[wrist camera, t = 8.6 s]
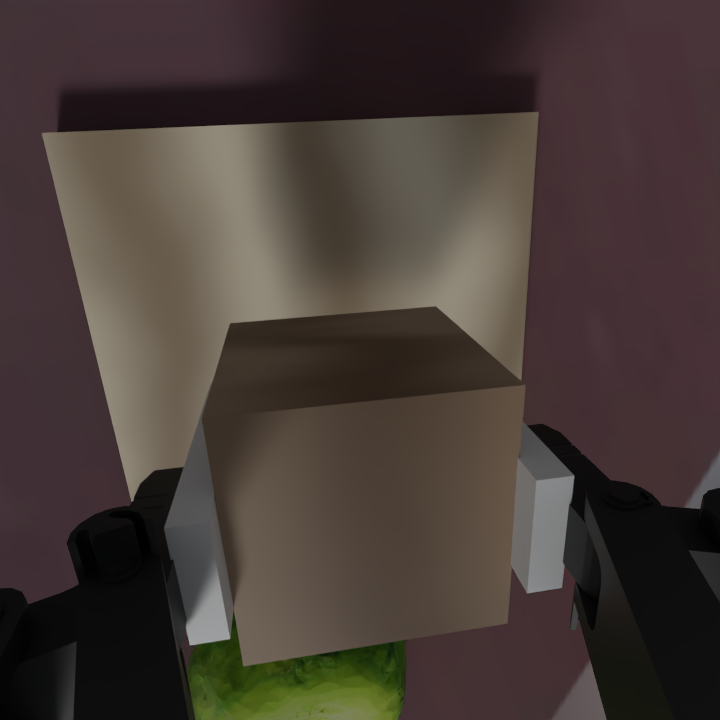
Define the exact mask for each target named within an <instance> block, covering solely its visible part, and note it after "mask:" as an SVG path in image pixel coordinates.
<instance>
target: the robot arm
mask: <svg viewBox="0 0 720 720" xmlns="http://www.w3.org/2000/svg"><path fill="white" fill-rule="evenodd" d="M211 385H212V383H211V384H210V387H209V390H208V393H207V397H206V400H205V403H204V406H203V409H202V412H201V415H200V418H199V421H198V425H197V428H196V431H195V434H194V437H193V440H192V443H191V446H190V449H189V452H188V456H187V459H186V462H185V465H184V467H179V468H170V469H161V470H154V471H153V472H152V473H151V474H150V475H149V476H148V477H147V478H146V479H145V480H143V481H142V482H141V483H140V485H139V487H138V489H137V492H136V494H135V496H134V501H132V503H131V505H130V506H123V507H117V508H112V509H108V510H105V511H103V512H100V513H98V514H95V515H93V516H91V517H90V518H88V519H87V520H85V521H83V522H82V523H80V524H79V525H78V526H77V527H76V528H75V529H74V530H73V531H72V532H71V534H70V536H69V539H68V541H67V545H68V549H69V552H70V555H71V558H72V562H73V565H74V568H75V571H76V575H77V578H78V581H79V585H77V586H75V587H73V588H71V589H69V590H66V591H64V592H62V593H59V594H57V595H54V596H51V597H48V598H45V599H42V600H40V601H37V602H34V603H31V604H28V603H27V600H26V598H25V597H24V595H23V593H22V592H21V591H18V590H15V589H13V588H2V589H0V720H196V719H195V714H194V708H193V703H192V697H191V692H190V687H189V681H188V676H187V670H186V665H185V660H184V656H183V652H182V647H181V645H182V640H183V636H184V631H185V626H186V630H187V634H188V639H189V643H190V645H196V644H202V643H209V642H215V641H222V640H228V639H230V637H231V627H232V618H233V608H234V606H233V601H232V595H231V589H230V584H229V578H228V572H227V566H226V560H225V554H224V548H223V543H222V537H221V531H220V525H219V519H218V513H217V507H216V501H215V495H214V489H213V483H212V477H211V472H210V466H209V460H208V454H207V448H206V442H205V436H204V430H203V424H202V415H203V412H204V409H205V405H206V402H207V399H208V395H209V392H210V389H211ZM564 565H565V566H566V568H567V569H568V570H569V572H570V573H571V575H572V576H573V577H574V579H575V588H574V596H573V604H572V612H571V620H570V629H571V630H576V628H577V620H578V619H579V620H580V624H581V628H582V631H583V635H584V639H585V642H586V646H587V650H588V653H589V657H590V660H591V664H592V667H593V671H594V675H595V679H596V682H597V685H598V690H599V693H600V697H601V700H602V704H603V708H604V711H605V715H606V718H607V720H720V488H717V489H713V490H709V491H708V492H707V493H706V494H704V495H703V499H702V504H701V508H700V509H692V508H679V507H667V506H661V504H660V502H659V501H658V500H657V499H656V498H655V497H654V496H653V495H652V494H651V493H649V492H648V491H646V490H644V489H643V488H641V487H638V486H635V485H633V484H630V483H626V482H620V481H611V480H610V479H609V478H608V477H607V476H605V475H604V474H603V473H602V472H601V471H600V470H599V469H598V468H597V467H596V466H595V465H594V464H593V463H592V462H591V461H590V460H589V459H588V458H587V457H585V456H584V455H583V454H582V455H581V452H580V451H579V450H578V449H577V448H576V447H575V446H574V445H573V446H572V443H571V442H570V441H569V440H568V439H567V438H565V437H564V436H563V435H562V434H561V433H560V432H558V431H556V430H554V429H552V428H550V427H548V426H546V425H544V424H536V425H528V426H527V425H526V424H525V423H524V422H523V425H522V438H521V451H520V458H518V462H517V477H516V492H515V507H514V522H513V537H512V551H511V566H512V568H513V570H514V571H515V573H516V575H517V577H518V578H519V580H520V582H521V583H522V585H523V587H524V589H525V590H526V592H527V593H532V592H538V591H545V590H551V589H557V588H562V581H563V573H564Z"/></svg>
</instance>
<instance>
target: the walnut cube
mask: <svg viewBox="0 0 720 720" xmlns="http://www.w3.org/2000/svg"><path fill="white" fill-rule="evenodd" d="M524 399H525V384H524V383H523V382H522V381H521V380H519V379H518V378H517V377H516V376H515V375H514V374H513V373H511V372H510V371H509V370H508V369H507V368H506V367H505V366H503V365H502V364H501V363H500V362H499V361H498V360H497V359H495V358H494V357H493V356H492V355H491V354H490V353H489V352H487V351H486V350H485V349H484V348H483V347H482V346H481V345H480V344H478V343H477V342H476V341H475V340H474V339H473V338H472V337H470V336H469V335H468V334H467V333H466V332H465V331H464V330H462V329H461V328H460V327H459V326H458V325H457V324H456V323H454V322H453V321H452V320H451V319H450V318H449V317H448V316H446V315H445V314H444V313H443V312H442V311H441V310H440V309H439V308H437V307H436V306H433V307H421V308H409V309H397V310H384V311H372V312H360V313H348V314H336V315H324V316H312V317H299V318H287V319H275V320H263V321H251V322H239V323H230V325H229V328H228V332H227V335H226V338H225V342H224V345H223V348H222V352H221V355H220V358H219V362H218V365H217V368H216V372H215V375H214V378H213V382H212V385H211V389H210V392H209V395H208V399H207V402H206V405H205V409H204V412H203V415H202V424H203V430H204V436H205V442H206V448H207V454H208V460H209V466H210V472H211V477H212V483H213V489H214V495H215V501H216V507H217V513H218V519H219V525H220V531H221V537H222V543H223V548H224V554H225V560H226V566H227V572H228V578H229V584H230V589H231V595H232V601H233V606H234V614H235V619H236V625H237V631H238V637H239V643H240V649H241V655H242V661H243V666H249V665H255V664H261V663H267V662H273V661H279V660H286V659H292V658H298V657H304V656H310V655H316V654H322V653H329V652H335V651H341V650H347V649H353V648H359V647H365V646H372V645H378V644H384V643H390V642H396V641H402V640H408V639H414V638H421V637H427V636H433V635H439V634H445V633H451V632H457V631H464V630H470V629H476V628H482V627H488V626H494V625H500V624H507V623H508V610H509V597H510V584H511V570H512V566H511V551H512V537H513V522H514V507H515V492H516V477H517V462H518V458H520V451H521V438H522V425H523V412H524Z"/></svg>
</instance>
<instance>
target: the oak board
mask: <svg viewBox="0 0 720 720" xmlns="http://www.w3.org/2000/svg"><path fill="white" fill-rule="evenodd" d="M538 114H539V112H525V113H502V114H478V115H455V116H431V117H408V118H384V119H361V120H337V121H314V122H291V123H267V124H244V125H220V126H197V127H173V128H150V129H126V130H103V131H79V132H56V133H42V135H43V139H44V144H45V148H46V152H47V156H48V160H49V164H50V168H51V172H52V176H53V181H54V185H55V189H56V193H57V197H58V201H59V205H60V209H61V213H62V218H63V222H64V226H65V230H66V234H67V238H68V242H69V246H70V250H71V255H72V259H73V263H74V267H75V271H76V275H77V279H78V283H79V287H80V292H81V296H82V300H83V304H84V308H85V312H86V316H87V320H88V324H89V329H90V333H91V337H92V341H93V345H94V349H95V353H96V357H97V361H98V366H99V370H100V374H101V378H102V382H103V386H104V390H105V394H106V398H107V403H108V407H109V411H110V415H111V419H112V423H113V427H114V431H115V435H116V440H117V444H118V448H119V452H120V456H121V460H122V464H123V468H124V472H125V477H126V481H127V485H128V489H129V493H130V497H131V501H134V496H135V494H136V492H137V489H138V487H139V485H140V483H141V482H142V481H143V480H145V479H146V478H147V477H148V476H149V475H150V474H151V473H152V472H153V471H154V470H161V469H170V468H179V467H184V465H185V462H186V459H187V456H188V452H189V449H190V446H191V443H192V440H193V437H194V434H195V431H196V428H197V425H198V421H199V418H200V415H201V412H202V409H203V406H204V403H205V400H206V397H207V393H208V390H209V387H210V384H211V383H212V382H213V378H214V375H215V372H216V368H217V365H218V362H219V358H220V355H221V352H222V348H223V345H224V342H225V338H226V335H227V332H228V328H229V325H230V323H239V322H251V321H263V320H275V319H287V318H299V317H312V316H324V315H336V314H348V313H360V312H372V311H384V310H397V309H409V308H421V307H433V306H436V307H437V308H439V309H440V310H441V311H442V312H443V313H444V314H445V315H446V316H448V317H449V318H450V319H451V320H452V321H453V322H454V323H456V324H457V325H458V326H459V327H460V328H461V329H462V330H464V331H465V332H466V333H467V334H468V335H469V336H470V337H472V338H473V339H474V340H475V341H476V342H477V343H478V344H480V345H481V346H482V347H483V348H484V349H485V350H486V351H487V352H489V353H490V354H491V355H492V356H493V357H494V358H495V359H497V360H498V361H499V362H500V363H501V364H502V365H503V366H505V367H506V368H507V369H508V370H509V371H510V372H511V373H513V374H514V375H515V376H516V377H517V378H518V379H519V380H521V378H522V362H523V347H524V331H525V316H526V300H527V285H528V269H529V254H530V238H531V223H532V207H533V192H534V176H535V161H536V145H537V130H538Z"/></svg>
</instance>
